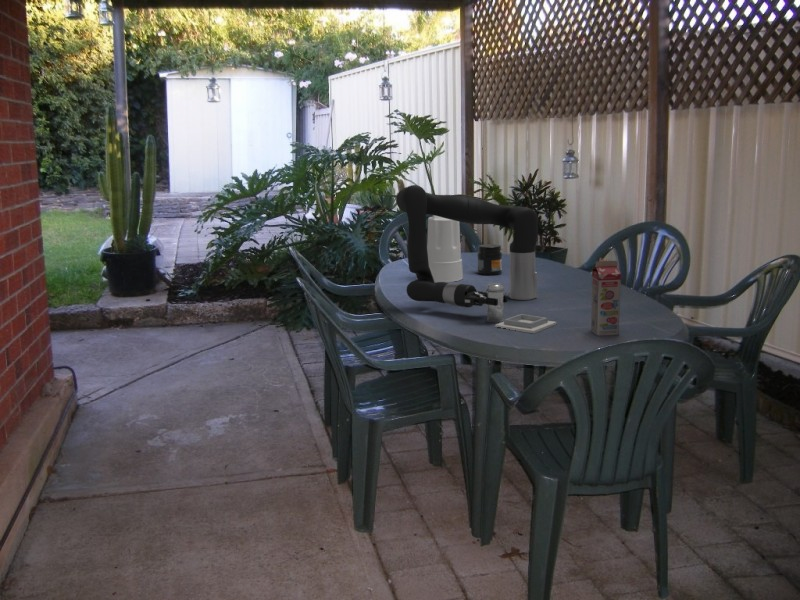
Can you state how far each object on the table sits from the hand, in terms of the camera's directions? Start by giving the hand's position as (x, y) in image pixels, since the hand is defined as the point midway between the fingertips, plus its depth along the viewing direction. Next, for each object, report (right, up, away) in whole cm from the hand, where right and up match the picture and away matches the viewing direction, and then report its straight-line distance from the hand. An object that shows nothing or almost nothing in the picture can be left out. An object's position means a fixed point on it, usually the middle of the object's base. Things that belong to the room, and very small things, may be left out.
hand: (502, 300), depth 267 cm
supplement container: (+6, +11, +88) cm, 89 cm away
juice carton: (+29, -10, -15) cm, 34 cm away
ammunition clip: (+45, +3, +46) cm, 65 cm away
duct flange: (+7, -8, -4) cm, 11 cm away
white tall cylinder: (-14, +9, +78) cm, 80 cm away
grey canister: (-2, -7, +3) cm, 7 cm away
